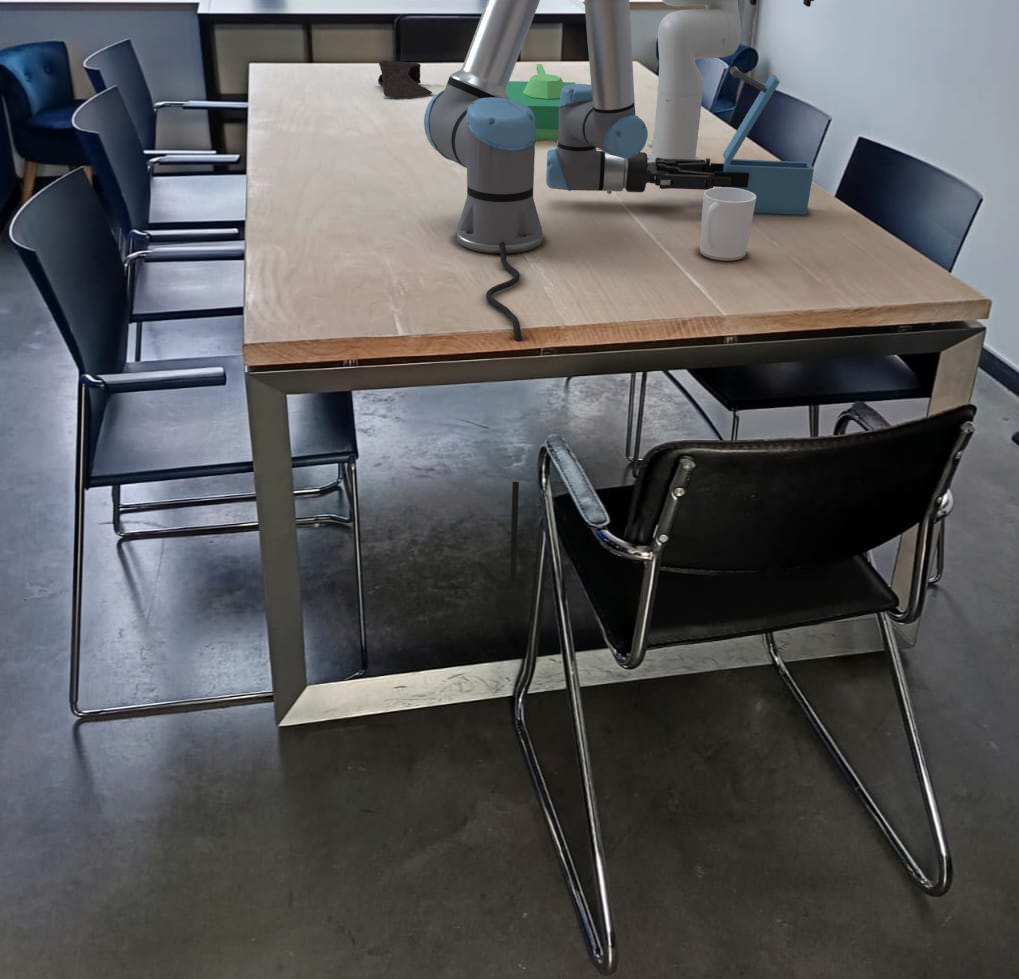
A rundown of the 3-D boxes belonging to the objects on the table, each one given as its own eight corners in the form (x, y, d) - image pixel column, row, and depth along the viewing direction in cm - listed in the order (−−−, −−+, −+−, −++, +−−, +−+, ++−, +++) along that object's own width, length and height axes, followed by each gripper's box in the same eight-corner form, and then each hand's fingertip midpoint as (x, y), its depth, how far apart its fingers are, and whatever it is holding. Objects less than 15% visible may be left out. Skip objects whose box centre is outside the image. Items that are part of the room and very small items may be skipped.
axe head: (443, 87, 294) (392, 77, 287) (436, 115, 299) (385, 106, 292) (421, 62, 307) (371, 52, 300) (414, 89, 311) (365, 80, 304)
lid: (776, 76, 204) (738, 54, 203) (779, 81, 200) (740, 59, 198) (727, 156, 213) (690, 136, 211) (729, 163, 208) (691, 143, 207)
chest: (802, 207, 217) (809, 162, 212) (806, 215, 212) (813, 169, 208) (719, 203, 217) (724, 158, 213) (721, 211, 213) (726, 165, 209)
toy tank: (572, 60, 278) (587, 89, 248) (570, 110, 284) (584, 145, 254) (503, 59, 277) (509, 88, 247) (502, 109, 283) (508, 143, 253)
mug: (713, 241, 197) (720, 184, 192) (757, 252, 193) (765, 194, 187) (681, 256, 190) (687, 197, 185) (726, 268, 185) (733, 208, 180)
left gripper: (621, 178, 222) (736, 181, 222) (626, 205, 206) (750, 209, 206) (624, 140, 218) (741, 144, 218) (629, 165, 202) (755, 169, 202)
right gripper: (840, -104, 190) (823, 3, 199) (740, -107, 190) (728, 0, 199) (850, -102, 183) (832, 9, 192) (747, -104, 184) (734, 6, 193)
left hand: (745, 175), depth 212 cm, fingers closed on chest, 5 cm apart
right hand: (779, 4), depth 196 cm, fingers open, 9 cm apart
